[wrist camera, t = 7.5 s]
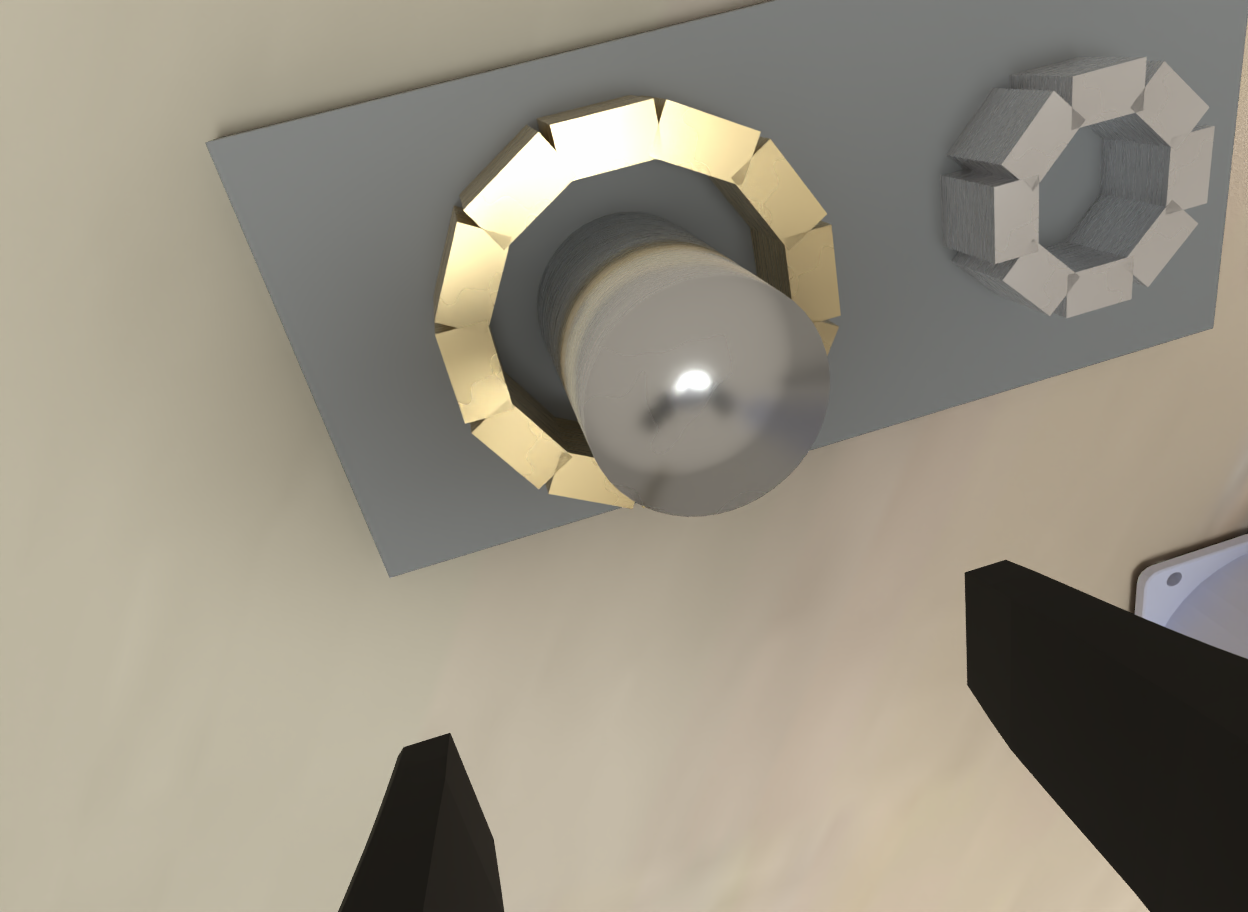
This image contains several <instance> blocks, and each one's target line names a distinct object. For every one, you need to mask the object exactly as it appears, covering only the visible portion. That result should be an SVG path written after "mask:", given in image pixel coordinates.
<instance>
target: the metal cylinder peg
mask: <svg viewBox="0 0 1248 912" xmlns="http://www.w3.org/2000/svg"><path fill="white" fill-rule="evenodd" d="M537 315H538V323H539V327H540V332H541V335H542V337H543V340H544V342H545V345H546V347H547V350H548V352H549V354H550V357H551V359H552V361H553V364H554V366H555V368H556V370H557V373H558V375H559V377H560V380H561V382H562V384H563V387H564V389H565V391H566V394H567V396H568V398H569V401H570V403H571V405H572V408H573V410H574V412H575V415H576V417H577V419H578V422H579V424H580V426H581V429H582V431H583V433H584V436H585V438H586V440H587V443H588V445H589V447H590V450H591V452H592V454H593V457H594V458H595V460H596V462H597V464H598V466H599V468H600V469H601V471H602V472H603V473H604V475H605V476H606V477H607V479H608V480H609V481H610V482H611V483H612V484H613V485H614V486H615V487H616V488H617V489H618V490H619V491H620V492H621V493H623V494H624V495H626V496H627V497H628V498H630V499H631V500H633V501H635V502H636V503H638V504H640V505H642V506H644V507H646V508H649V509H652V510H654V511H657V512H661V513H665V514H670V515H676V516H687V517H689V516H707V515H714V514H719V513H723V512H727V511H730V510H734V509H736V508H739V507H741V506H744V505H746V504H748V503H750V502H752V501H754V500H756V499H758V498H760V497H762V496H763V495H765V494H766V493H768V492H769V491H771V490H772V489H774V488H775V487H776V486H777V485H778V484H780V483H781V482H782V481H783V480H784V479H786V478H787V477H788V476H789V475H790V473H791V472H792V471H793V470H794V469H795V468H796V467H797V466H798V465H799V463H800V462H801V461H802V460H803V458H804V457H805V456H806V454H807V453H808V451H809V449H810V448H811V446H812V445H813V443H814V441H815V439H816V437H817V435H818V433H819V430H820V428H821V426H822V423H823V420H824V417H825V414H826V410H827V405H828V400H829V390H830V373H829V363H828V359H827V354H826V350H825V347H824V344H823V342H822V339H821V336H820V335H819V333H818V331H817V329H816V327H815V325H814V324H813V322H812V321H811V320H810V318H809V317H808V316H807V314H806V313H805V312H804V311H803V310H802V309H801V308H800V307H799V306H798V305H797V304H796V303H795V302H794V301H793V300H792V299H790V298H789V297H787V296H786V295H785V294H783V293H782V292H780V291H779V290H777V289H776V288H774V287H773V286H771V285H769V284H768V283H766V282H765V281H763V280H762V279H760V278H759V277H757V276H755V275H754V274H752V273H751V272H749V271H748V270H746V269H745V268H743V267H741V266H740V265H738V264H737V263H735V262H734V261H732V260H731V259H729V258H727V257H726V256H724V255H723V254H721V253H720V252H718V251H717V250H715V249H713V248H712V247H710V246H709V245H707V244H706V243H704V242H703V241H701V240H700V239H698V238H696V237H695V236H693V235H692V234H690V233H689V232H687V231H686V230H684V229H682V228H681V227H679V226H678V225H676V224H674V223H672V222H671V221H669V220H667V219H665V218H662V217H659V216H656V215H652V214H647V213H642V212H621V213H615V214H610V215H606V216H603V217H600V218H597V219H595V220H593V221H591V222H589V223H587V224H585V225H583V226H582V227H580V228H579V229H577V230H576V231H575V232H573V233H572V234H571V235H570V236H569V237H568V238H567V239H565V240H564V241H563V242H562V244H561V245H560V246H559V247H558V248H557V250H556V251H555V252H554V254H553V256H552V257H551V259H550V260H549V262H548V264H547V266H546V268H545V270H544V273H543V276H542V279H541V282H540V285H539V291H538V296H537Z"/></svg>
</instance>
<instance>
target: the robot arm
mask: <svg viewBox="0 0 1248 912" xmlns="http://www.w3.org/2000/svg"><path fill="white" fill-rule="evenodd" d="M965 603H966V645H967V685H968V687H969V688H970V690H971V691H972V693H973V694H974V696H975V697H976V699H977V700H978V702H979V703H980V705H981V707H982V708H983V710H984V711H985V713H986V714H987V716H988V717H989V719H990V720H991V722H992V723H993V725H994V726H995V728H996V729H997V730H998V732H999V733H1000V735H1001V736H1002V738H1003V739H1004V740H1005V742H1006V743H1007V745H1008V746H1009V748H1010V749H1011V750H1012V751H1013V753H1014V754H1015V755H1016V756H1017V757H1018V759H1019V760H1020V761H1021V762H1022V763H1023V765H1024V766H1025V767H1026V768H1027V769H1028V770H1029V772H1030V773H1031V774H1032V775H1033V776H1034V777H1035V779H1036V780H1037V781H1038V782H1039V783H1040V784H1041V785H1042V787H1043V788H1044V789H1045V790H1046V791H1047V792H1048V794H1049V795H1050V796H1051V797H1052V798H1053V799H1054V801H1055V802H1056V803H1057V804H1058V805H1059V806H1060V807H1061V809H1062V810H1063V811H1064V812H1065V813H1066V814H1067V815H1068V817H1069V818H1070V819H1071V820H1072V821H1073V822H1074V823H1075V825H1076V826H1077V827H1078V828H1079V829H1080V830H1081V832H1082V833H1083V834H1084V835H1085V836H1086V837H1087V838H1088V840H1089V841H1090V842H1091V843H1092V844H1093V845H1094V846H1095V848H1096V849H1097V850H1098V851H1099V852H1100V853H1101V854H1102V856H1103V857H1104V858H1105V859H1106V860H1107V861H1108V862H1109V864H1110V865H1111V866H1112V867H1113V868H1114V869H1115V870H1116V872H1117V873H1118V874H1119V875H1120V876H1121V877H1122V879H1123V880H1124V881H1125V882H1126V883H1127V884H1128V885H1129V887H1130V888H1131V889H1132V890H1133V891H1134V892H1135V894H1136V895H1137V896H1138V897H1139V899H1140V900H1141V901H1142V902H1143V904H1144V905H1145V906H1146V907H1147V908H1148V910H1149V911H1150V912H1248V534H1245V535H1242V536H1239V537H1236V538H1233V539H1230V540H1227V541H1224V542H1221V543H1218V544H1215V545H1212V546H1209V547H1206V548H1203V549H1200V550H1197V551H1194V552H1191V553H1188V554H1185V555H1182V556H1179V557H1176V558H1173V559H1170V560H1167V561H1164V562H1161V563H1158V564H1154V565H1151V566H1149V567H1147V568H1146V569H1145V570H1143V571H1142V572H1141V574H1140V575H1139V577H1138V581H1137V591H1136V604H1135V614H1132V613H1130V612H1128V611H1125V610H1123V609H1121V608H1118V607H1116V606H1114V605H1111V604H1109V603H1107V602H1104V601H1102V600H1100V599H1097V598H1095V597H1093V596H1091V595H1088V594H1086V593H1084V592H1081V591H1079V590H1077V589H1074V588H1072V587H1070V586H1068V585H1065V584H1063V583H1061V582H1058V581H1056V580H1054V579H1051V578H1049V577H1047V576H1044V575H1042V574H1040V573H1037V572H1035V571H1033V570H1030V569H1028V568H1025V567H1023V566H1020V565H1018V564H1015V563H1013V562H1010V561H1007V560H1004V561H1000V562H997V563H994V564H991V565H987V566H984V567H981V568H978V569H975V570H971V571H968V572H965ZM338 912H504V907H503V900H502V892H501V885H500V878H499V872H498V865H497V858H496V852H495V845H494V839H493V836H492V834H491V832H490V829H489V827H488V824H487V822H486V819H485V817H484V814H483V812H482V810H481V807H480V805H479V802H478V800H477V797H476V795H475V792H474V790H473V787H472V785H471V783H470V780H469V778H468V775H467V773H466V770H465V768H464V765H463V763H462V761H461V758H460V756H459V753H458V751H457V748H456V746H455V743H454V741H453V738H452V736H451V734H450V733H448V734H445V735H442V736H438V737H435V738H432V739H429V740H426V741H422V742H419V743H416V744H413V745H409V746H406V747H404V748H403V749H402V751H401V753H400V754H399V756H398V758H397V761H396V764H395V767H394V770H393V773H392V776H391V779H390V781H389V784H388V787H387V790H386V793H385V796H384V798H383V801H382V804H381V807H380V809H379V812H378V815H377V818H376V820H375V823H374V825H373V828H372V831H371V833H370V836H369V838H368V841H367V844H366V846H365V849H364V851H363V853H362V856H361V858H360V861H359V863H358V865H357V868H356V870H355V873H354V875H353V877H352V880H351V882H350V885H349V887H348V889H347V892H346V894H345V897H344V899H343V901H342V904H341V906H340V908H339V911H338Z"/></svg>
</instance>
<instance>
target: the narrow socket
mask: <svg viewBox="0 0 1248 912" xmlns="http://www.w3.org/2000/svg"><path fill="white" fill-rule="evenodd" d="M1146 60H1147V57H1076V58H1072V59H1069V60H1065V61H1061V62H1057V63H1054V64H1050V65H1046V66H1042V67H1039V68H1035V69H1031V70H1027V71H1023V72H1020V73H1016V74H1012V75H1010V89H1005V88H992V90H991V91H990V92H989V94H988V95H987V97H986V98H985V100H984V101H983V103H982V104H981V106H980V107H979V108H978V110H977V111H976V113H975V114H974V116H973V117H972V119H971V120H970V122H969V123H968V124H967V126H966V127H965V129H964V130H963V132H962V133H961V135H960V136H959V138H958V139H957V140H956V142H955V143H954V145H953V146H952V148H951V149H950V151H949V152H948V154H947V156H948V157H950V158H951V159H952V160H953V161H954V162H956V163H957V164H958V165H959V166H961V167H962V168H963V169H962V170H958V171H955V172H951V173H947V174H944V175H940V180H941V204H942V227H943V246H945V247H948V248H951V249H954V250H957V253H956V254H955V255H954V257H953V258H952V260H951V262H953V263H954V264H956V265H957V266H958V267H960V268H961V269H962V270H964V271H965V272H966V273H968V274H969V275H970V276H972V277H973V278H974V279H976V280H977V281H978V282H980V283H981V284H983V285H984V286H985V287H987V288H988V289H989V290H991V291H992V292H993V293H995V294H996V295H999V296H1001V297H1004V298H1006V299H1009V300H1011V301H1014V302H1016V303H1019V304H1021V305H1024V306H1026V307H1029V308H1031V309H1034V310H1036V311H1038V312H1041V313H1043V314H1046V315H1048V316H1051V314H1052V313H1054V314H1057V315H1059V316H1062V317H1064V318H1070V317H1073V316H1076V315H1080V314H1083V313H1086V312H1090V311H1093V310H1097V309H1100V308H1103V307H1107V306H1110V305H1113V304H1117V303H1120V302H1123V301H1127V300H1130V299H1132V283H1136V284H1140V285H1143V286H1146V287H1149V286H1150V284H1151V283H1152V282H1153V280H1154V279H1155V278H1156V277H1157V275H1158V274H1159V273H1160V272H1161V270H1162V269H1163V268H1164V267H1165V265H1166V264H1167V263H1168V261H1169V260H1170V259H1171V258H1172V256H1173V255H1174V254H1175V253H1176V251H1177V250H1178V249H1179V248H1180V246H1181V245H1182V244H1183V242H1184V241H1185V240H1186V239H1187V237H1188V236H1189V235H1190V234H1191V232H1192V231H1193V230H1194V229H1195V227H1196V226H1197V225H1198V223H1197V222H1196V221H1195V220H1194V219H1193V218H1192V217H1191V216H1190V215H1188V214H1187V213H1186V212H1185V211H1184V210H1185V209H1189V208H1192V207H1196V206H1199V205H1202V204H1206V203H1207V199H1208V189H1209V179H1210V169H1211V159H1212V149H1213V139H1214V129H1215V126H1211V125H1199V124H1197V123H1198V122H1199V121H1200V119H1201V118H1202V117H1203V115H1204V114H1205V113H1206V111H1207V110H1208V109H1209V106H1208V105H1207V104H1206V103H1205V102H1204V101H1203V100H1202V99H1201V98H1200V97H1199V96H1198V95H1197V94H1196V93H1195V92H1194V91H1193V90H1192V89H1191V88H1190V87H1189V86H1188V85H1187V84H1186V83H1185V82H1184V81H1183V80H1182V79H1181V77H1180V76H1179V75H1178V74H1177V73H1176V72H1175V71H1174V70H1173V69H1172V68H1171V67H1170V66H1169V65H1168V64H1167V63H1166V62H1165V61H1146ZM1085 126H1088V127H1089V128H1091V129H1092V130H1093V131H1094V132H1095V133H1096V134H1097V135H1098V136H1099V137H1100V138H1101V139H1102V153H1101V176H1100V194H1099V196H1098V197H1097V198H1096V200H1095V201H1094V202H1093V204H1092V205H1091V206H1090V208H1089V209H1088V210H1087V212H1086V213H1085V214H1084V216H1083V217H1082V218H1081V220H1080V221H1079V222H1078V224H1077V225H1076V226H1075V228H1074V229H1073V230H1072V232H1071V233H1070V234H1069V236H1068V237H1067V238H1066V240H1065V241H1061V242H1058V243H1054V244H1051V245H1047V246H1044V247H1042V246H1041V245H1040V244H1039V183H1040V182H1041V180H1042V179H1043V177H1044V176H1045V175H1046V173H1047V172H1048V171H1049V169H1050V168H1051V166H1052V165H1053V164H1054V162H1055V161H1056V160H1057V158H1058V157H1059V155H1060V154H1061V153H1062V151H1063V150H1064V149H1065V147H1066V146H1067V144H1068V143H1069V142H1070V140H1071V139H1072V138H1073V136H1074V135H1075V133H1076V132H1077V131H1078V129H1079V128H1081V127H1085Z"/></svg>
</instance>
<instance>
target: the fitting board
mask: <svg viewBox="0 0 1248 912" xmlns="http://www.w3.org/2000/svg"><path fill="white" fill-rule="evenodd" d="M1247 18H1248V0H771V1H767V2H763V3H759V4H755V5H751V6H747V7H743V8H739V9H735V10H731V11H727V12H723V13H719V14H715V15H711V16H707V17H703V18H699V19H695V20H691V21H687V22H683V23H679V24H675V25H671V26H667V27H663V28H659V29H655V30H651V31H647V32H643V33H639V34H635V35H631V36H627V37H623V38H619V39H615V40H611V41H607V42H602V43H598V44H594V45H590V46H586V47H582V48H578V49H574V50H570V51H566V52H562V53H558V54H554V55H550V56H546V57H542V58H538V59H534V60H530V61H526V62H522V63H518V64H514V65H510V66H506V67H502V68H498V69H494V70H490V71H486V72H482V73H478V74H474V75H470V76H466V77H462V78H458V79H454V80H450V81H446V82H442V83H438V84H434V85H430V86H426V87H422V88H418V89H414V90H410V91H406V92H402V93H398V94H394V95H390V96H386V97H382V98H378V99H373V100H369V101H365V102H361V103H357V104H353V105H349V106H345V107H341V108H337V109H333V110H329V111H325V112H321V113H317V114H313V115H309V116H305V117H301V118H297V119H293V120H289V121H285V122H281V123H277V124H273V125H269V126H265V127H261V128H257V129H253V130H249V131H245V132H241V133H237V134H233V135H229V136H225V137H221V138H217V139H214V140H211V141H209V142H206V145H207V148H208V150H209V153H210V155H211V157H212V160H213V162H214V164H215V167H216V169H217V171H218V174H219V176H220V178H221V181H222V183H223V186H224V188H225V190H226V193H227V195H228V197H229V200H230V202H231V204H232V207H233V209H234V212H235V214H236V216H237V219H238V221H239V223H240V226H241V228H242V230H243V233H244V235H245V237H246V240H247V242H248V245H249V247H250V249H251V252H252V254H253V256H254V259H255V261H256V263H257V266H258V268H259V271H260V273H261V275H262V278H263V280H264V282H265V285H266V287H267V289H268V292H269V294H270V296H271V299H272V301H273V304H274V306H275V308H276V311H277V313H278V315H279V318H280V320H281V322H282V325H283V327H284V330H285V332H286V334H287V337H288V339H289V341H290V344H291V346H292V348H293V351H294V353H295V355H296V358H297V360H298V363H299V365H300V367H301V370H302V372H303V374H304V377H305V379H306V381H307V384H308V386H309V389H310V391H311V393H312V396H313V398H314V400H315V403H316V405H317V407H318V410H319V412H320V414H321V417H322V419H323V422H324V424H325V426H326V429H327V431H328V433H329V436H330V438H331V440H332V443H333V445H334V448H335V450H336V452H337V455H338V457H339V459H340V462H341V464H342V466H343V469H344V471H345V473H346V476H347V478H348V481H349V483H350V485H351V488H352V490H353V492H354V495H355V497H356V499H357V502H358V504H359V507H360V509H361V511H362V514H363V516H364V518H365V521H366V523H367V525H368V528H369V530H370V532H371V535H372V537H373V540H374V542H375V544H376V547H377V549H378V551H379V554H380V556H381V558H382V561H383V563H384V566H385V568H386V570H387V573H388V575H389V577H390V578H391V577H394V576H397V575H401V574H404V573H407V572H411V571H414V570H417V569H420V568H424V567H427V566H430V565H434V564H437V563H440V562H444V561H447V560H450V559H453V558H457V557H460V556H463V555H467V554H470V553H473V552H477V551H480V550H483V549H486V548H490V547H493V546H496V545H500V544H503V543H506V542H510V541H513V540H516V539H519V538H523V537H526V536H529V535H533V534H536V533H539V532H543V531H546V530H549V529H552V528H556V527H559V526H562V525H566V524H569V523H572V522H575V521H579V520H582V519H585V518H589V517H592V516H595V515H599V514H602V513H605V512H608V511H612V510H615V509H618V508H622V507H619V506H614V505H608V504H603V503H597V502H591V501H586V500H580V499H575V498H569V497H564V496H558V495H553V494H548V491H547V487H546V484H544V485H543V486H542V487H541V488H540V489H538V488H537V487H535V486H534V485H533V484H532V483H531V482H529V481H528V480H527V479H526V478H525V477H523V476H522V475H521V474H520V473H519V472H517V471H516V470H515V469H514V468H513V467H511V466H510V465H509V464H508V463H507V462H505V461H504V460H503V459H502V458H501V457H500V456H498V455H497V454H496V453H495V452H494V451H492V450H491V449H490V448H489V447H488V446H486V445H485V444H484V443H483V442H482V441H480V440H479V439H478V438H477V437H476V436H474V435H473V434H472V433H471V425H470V423H466V424H465V422H464V419H463V416H462V413H461V410H460V407H459V404H458V401H457V398H456V395H455V392H454V390H453V387H452V384H451V381H450V378H449V375H448V372H447V369H446V366H445V363H444V360H443V357H442V354H441V351H440V348H439V345H438V342H437V339H436V336H435V323H434V301H433V295H434V291H435V287H436V282H437V278H438V273H439V269H440V264H441V260H442V255H443V251H444V246H445V242H446V237H447V233H448V228H449V224H450V220H451V215H452V211H453V206H454V205H455V206H458V207H462V203H461V199H460V196H459V195H460V194H461V192H462V191H463V190H464V189H465V188H466V187H467V186H468V185H469V184H470V183H471V182H472V181H473V180H474V179H475V178H476V177H477V176H478V175H479V174H480V173H481V172H482V170H483V169H484V168H485V167H486V166H487V165H488V164H489V163H490V162H491V161H492V160H493V159H494V158H495V157H496V156H497V155H498V154H499V153H500V152H501V151H502V150H503V149H504V147H505V146H506V145H507V144H508V143H509V142H510V141H511V140H512V139H513V138H514V137H515V136H516V135H517V134H518V133H519V132H520V131H521V130H522V129H523V128H524V127H525V125H528V126H529V127H531V128H533V129H534V130H536V131H538V132H539V133H540V130H539V126H538V122H537V118H541V117H545V116H548V115H552V114H556V113H560V112H564V111H568V110H572V109H576V108H580V107H584V106H588V105H591V104H595V103H599V102H603V101H607V100H611V99H615V98H619V97H623V96H627V95H633V96H641V95H642V96H649V97H655V98H662V99H667V100H670V101H673V102H676V103H679V104H682V105H685V106H688V107H691V108H693V109H696V110H699V111H702V112H705V113H708V114H711V115H714V116H717V117H720V118H722V119H725V120H728V121H731V122H734V123H737V124H740V125H743V126H746V127H748V128H751V129H754V130H757V131H760V132H761V133H760V137H764V138H769V139H771V140H772V142H773V143H774V144H775V146H776V147H777V148H778V149H779V151H780V152H781V153H782V155H783V156H784V157H785V159H786V160H787V161H788V163H789V164H790V165H791V167H792V168H793V169H794V171H795V172H796V173H797V175H798V176H799V177H800V179H801V180H802V181H803V182H804V184H805V185H806V186H807V188H808V189H809V190H810V192H811V193H812V194H813V196H814V197H815V198H816V200H817V201H818V202H819V204H820V205H821V206H822V208H823V209H824V210H825V211H826V213H827V215H826V216H825V217H824V218H823V219H822V220H821V221H823V222H826V223H829V224H831V225H832V235H833V245H834V254H835V264H836V274H837V283H838V293H839V303H840V313H841V316H837V317H834V318H831V319H828V320H830V321H831V322H833V323H834V324H836V325H837V326H839V328H838V331H837V333H836V336H835V338H834V341H833V343H832V346H831V348H830V350H829V353H828V355H827V359H828V363H829V373H830V390H829V400H828V405H827V410H826V414H825V417H824V420H823V423H822V426H821V428H820V430H819V433H818V435H817V437H816V439H815V441H814V443H813V445H812V446H811V448H810V449H809V451H810V450H813V449H816V448H820V447H823V446H826V445H829V444H833V443H836V442H839V441H843V440H846V439H849V438H852V437H856V436H859V435H862V434H866V433H869V432H872V431H876V430H879V429H882V428H885V427H889V426H892V425H895V424H899V423H902V422H905V421H909V420H912V419H915V418H918V417H922V416H925V415H928V414H932V413H935V412H938V411H942V410H945V409H948V408H951V407H955V406H958V405H961V404H965V403H968V402H971V401H975V400H978V399H981V398H984V397H988V396H991V395H994V394H998V393H1001V392H1004V391H1007V390H1011V389H1014V388H1017V387H1021V386H1024V385H1027V384H1031V383H1034V382H1037V381H1040V380H1044V379H1047V378H1050V377H1054V376H1057V375H1060V374H1064V373H1067V372H1070V371H1073V370H1077V369H1080V368H1083V367H1087V366H1090V365H1093V364H1097V363H1100V362H1103V361H1106V360H1110V359H1113V358H1116V357H1120V356H1123V355H1126V354H1130V353H1133V352H1136V351H1139V350H1143V349H1146V348H1149V347H1153V346H1156V345H1159V344H1162V343H1166V342H1169V341H1172V340H1176V339H1179V338H1182V337H1186V336H1189V335H1192V334H1195V333H1199V332H1202V331H1205V330H1209V329H1212V328H1213V325H1214V316H1215V307H1216V298H1217V289H1218V280H1219V271H1220V262H1221V253H1222V244H1223V235H1224V226H1225V217H1226V208H1227V199H1228V190H1229V181H1230V172H1231V163H1232V154H1233V145H1234V136H1235V127H1236V117H1237V108H1238V99H1239V90H1240V81H1241V72H1242V63H1243V54H1244V45H1245V36H1246V27H1247ZM1076 57H1147V60H1146V61H1165V62H1166V63H1167V64H1168V65H1169V66H1170V67H1171V68H1172V69H1173V70H1174V71H1175V72H1176V73H1177V74H1178V75H1179V76H1180V77H1181V79H1182V80H1183V81H1184V82H1185V83H1186V84H1187V85H1188V86H1189V87H1190V88H1191V89H1192V90H1193V91H1194V92H1195V93H1196V94H1197V95H1198V96H1199V97H1200V98H1201V99H1202V100H1203V101H1204V102H1205V103H1206V104H1207V105H1208V106H1209V109H1208V110H1207V111H1206V113H1205V114H1204V115H1203V117H1202V118H1201V119H1200V121H1199V122H1198V123H1197V124H1199V125H1211V126H1215V129H1214V139H1213V149H1212V159H1211V169H1210V179H1209V189H1208V199H1207V203H1206V204H1202V205H1199V206H1196V207H1192V208H1189V209H1185V210H1184V211H1185V212H1186V213H1187V214H1188V215H1190V216H1191V217H1192V218H1193V219H1194V220H1195V221H1196V222H1197V223H1198V225H1197V226H1196V227H1195V229H1194V230H1193V231H1192V232H1191V234H1190V235H1189V236H1188V237H1187V239H1186V240H1185V241H1184V242H1183V244H1182V245H1181V246H1180V248H1179V249H1178V250H1177V251H1176V253H1175V254H1174V255H1173V256H1172V258H1171V259H1170V260H1169V261H1168V263H1167V264H1166V265H1165V267H1164V268H1163V269H1162V270H1161V272H1160V273H1159V274H1158V275H1157V277H1156V278H1155V279H1154V280H1153V282H1152V283H1151V284H1150V286H1149V287H1146V286H1143V285H1140V284H1136V283H1132V299H1130V300H1127V301H1123V302H1120V303H1117V304H1113V305H1110V306H1107V307H1103V308H1100V309H1097V310H1093V311H1090V312H1086V313H1083V314H1080V315H1076V316H1073V317H1070V318H1064V317H1062V316H1059V315H1057V314H1054V313H1052V314H1051V316H1048V315H1046V314H1043V313H1041V312H1038V311H1036V310H1034V309H1031V308H1029V307H1026V306H1024V305H1021V304H1019V303H1016V302H1014V301H1011V300H1009V299H1006V298H1004V297H1001V296H999V295H996V294H995V293H993V292H992V291H991V290H989V289H988V288H987V287H985V286H984V285H983V284H981V283H980V282H978V281H977V280H976V279H974V278H973V277H972V276H970V275H969V274H968V273H966V272H965V271H964V270H962V269H961V268H960V267H958V266H957V265H956V264H954V263H953V262H951V260H952V258H953V257H954V255H955V254H956V253H957V250H954V249H951V248H948V247H945V246H943V227H942V204H941V180H940V175H944V174H947V173H951V172H955V171H958V170H962V169H963V168H962V167H961V166H959V165H958V164H957V163H956V162H954V161H953V160H952V159H951V158H950V157H948V156H947V154H948V152H949V151H950V149H951V148H952V146H953V145H954V143H955V142H956V140H957V139H958V138H959V136H960V135H961V133H962V132H963V130H964V129H965V127H966V126H967V124H968V123H969V122H970V120H971V119H972V117H973V116H974V114H975V113H976V111H977V110H978V108H979V107H980V106H981V104H982V103H983V101H984V100H985V98H986V97H987V95H988V94H989V92H990V91H991V90H992V88H1005V89H1010V75H1012V74H1016V73H1020V72H1023V71H1027V70H1031V69H1035V68H1039V67H1042V66H1046V65H1050V64H1054V63H1057V62H1061V61H1065V60H1069V59H1072V58H1076ZM1101 153H1102V139H1101V138H1100V137H1099V136H1098V135H1097V134H1096V133H1095V132H1094V131H1093V130H1092V129H1091V128H1089V127H1088V126H1085V127H1081V128H1079V129H1078V131H1077V132H1076V133H1075V135H1074V136H1073V138H1072V139H1071V140H1070V142H1069V143H1068V144H1067V146H1066V147H1065V149H1064V150H1063V151H1062V153H1061V154H1060V155H1059V157H1058V158H1057V160H1056V161H1055V162H1054V164H1053V165H1052V166H1051V168H1050V169H1049V171H1048V172H1047V173H1046V175H1045V176H1044V177H1043V179H1042V180H1041V182H1040V183H1039V244H1040V245H1041V246H1042V247H1044V246H1047V245H1051V244H1054V243H1058V242H1061V241H1065V240H1066V238H1067V237H1068V236H1069V234H1070V233H1071V232H1072V230H1073V229H1074V228H1075V226H1076V225H1077V224H1078V222H1079V221H1080V220H1081V218H1082V217H1083V216H1084V214H1085V213H1086V212H1087V210H1088V209H1089V208H1090V206H1091V205H1092V204H1093V202H1094V201H1095V200H1096V198H1097V197H1098V196H1099V194H1100V176H1101ZM462 208H463V207H462ZM621 212H642V213H647V214H652V215H656V216H659V217H662V218H665V219H667V220H669V221H671V222H672V223H674V224H676V225H678V226H679V227H681V228H682V229H684V230H686V231H687V232H689V233H690V234H692V235H693V236H695V237H696V238H698V239H700V240H701V241H703V242H704V243H706V244H707V245H709V246H710V247H712V248H713V249H715V250H717V251H718V252H720V253H721V254H723V255H724V256H726V257H727V258H729V259H731V260H732V261H734V262H735V263H737V264H738V265H740V266H741V267H743V268H745V269H746V270H748V271H749V272H751V273H752V274H754V275H755V276H757V272H756V265H755V258H754V251H753V244H752V238H751V231H750V227H749V226H748V225H747V223H746V222H745V221H744V220H743V218H742V217H741V216H740V215H739V214H738V212H737V211H736V210H735V209H734V207H733V206H732V205H731V204H730V203H729V201H728V200H727V199H726V198H725V197H724V195H723V194H722V193H721V192H720V190H719V189H718V188H717V187H716V186H715V184H714V183H713V182H712V181H711V179H710V178H709V177H708V176H707V175H706V174H703V173H700V172H697V171H694V170H691V169H687V168H684V167H681V166H678V165H675V164H672V163H669V162H666V161H663V160H659V159H653V160H649V161H646V162H642V163H638V164H634V165H631V166H627V167H623V168H619V169H615V170H612V171H608V172H604V173H600V174H596V175H593V176H589V177H585V178H581V179H578V180H574V181H571V182H570V183H569V184H568V185H567V187H566V188H565V189H564V190H563V191H562V192H561V193H560V194H559V195H558V196H557V197H556V198H555V199H554V200H553V201H552V202H551V203H550V204H549V205H548V206H547V207H546V208H545V209H544V210H543V211H542V212H541V213H540V214H539V215H538V216H537V217H536V218H535V219H534V220H533V221H532V222H531V223H530V224H529V225H528V226H527V227H526V228H525V229H524V230H523V231H522V232H521V233H520V235H519V236H518V237H517V238H516V239H515V240H514V241H513V242H512V243H511V244H510V245H509V249H508V253H507V257H506V261H505V265H504V269H503V273H502V277H501V281H500V285H499V289H498V293H497V297H496V301H495V305H494V309H493V313H492V317H491V321H490V324H489V325H490V328H491V331H492V334H493V338H494V341H495V344H496V348H497V351H498V354H499V357H500V361H501V364H502V367H503V370H504V372H506V373H507V374H508V375H509V376H510V377H511V378H512V379H513V380H514V381H516V382H517V383H518V384H519V385H520V386H521V387H522V388H523V389H524V390H526V391H527V392H528V393H529V394H530V395H531V396H532V397H533V398H534V399H536V400H537V401H538V402H539V403H540V404H541V405H542V406H543V407H544V408H546V409H547V410H548V411H549V412H550V413H551V414H552V415H553V416H554V417H559V418H563V419H568V420H573V421H578V419H577V417H576V415H575V412H574V410H573V408H572V405H571V403H570V401H569V398H568V396H567V394H566V391H565V389H564V387H563V384H562V382H561V380H560V377H559V375H558V373H557V370H556V368H555V366H554V364H553V361H552V359H551V357H550V354H549V352H548V350H547V347H546V345H545V342H544V340H543V337H542V335H541V332H540V327H539V323H538V315H537V296H538V291H539V285H540V282H541V279H542V276H543V273H544V270H545V268H546V266H547V264H548V262H549V260H550V259H551V257H552V256H553V254H554V252H555V251H556V250H557V248H558V247H559V246H560V245H561V244H562V242H563V241H564V240H565V239H567V238H568V237H569V236H570V235H571V234H572V233H573V232H575V231H576V230H577V229H579V228H580V227H582V226H583V225H585V224H587V223H589V222H591V221H593V220H595V219H597V218H600V217H603V216H606V215H610V214H615V213H621ZM635 503H636V502H635ZM635 503H634V504H635Z"/></svg>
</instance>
